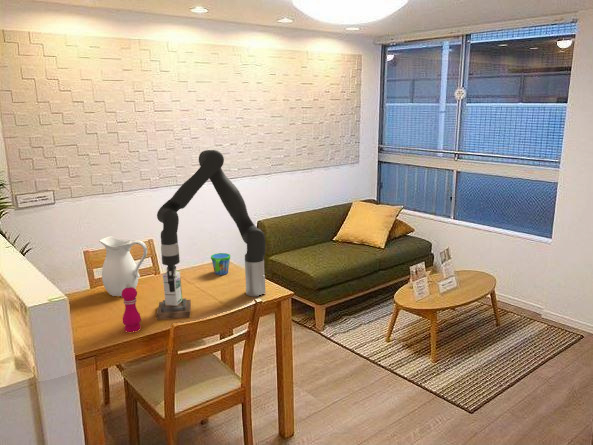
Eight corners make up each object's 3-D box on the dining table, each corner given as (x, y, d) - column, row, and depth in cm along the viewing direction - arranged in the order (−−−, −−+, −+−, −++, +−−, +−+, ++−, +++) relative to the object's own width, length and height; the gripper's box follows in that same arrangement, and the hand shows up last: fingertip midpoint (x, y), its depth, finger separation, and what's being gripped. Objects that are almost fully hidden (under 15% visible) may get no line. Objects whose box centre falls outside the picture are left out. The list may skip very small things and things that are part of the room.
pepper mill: (135, 324, 208) (131, 279, 204) (145, 328, 204) (141, 283, 199) (120, 330, 203) (115, 284, 198) (129, 335, 198) (125, 288, 194)
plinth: (190, 304, 228) (190, 296, 227) (189, 316, 215) (189, 308, 214) (159, 307, 226) (159, 298, 225) (156, 319, 213) (156, 311, 212)
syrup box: (177, 305, 216) (175, 274, 213) (164, 305, 217) (162, 273, 214) (182, 301, 222) (180, 270, 218) (170, 300, 223) (168, 269, 219)
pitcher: (96, 297, 238) (90, 242, 232) (116, 285, 254) (111, 233, 247) (140, 301, 232) (135, 245, 226) (158, 289, 248) (154, 236, 242)
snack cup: (217, 268, 280) (217, 251, 277) (235, 269, 277) (234, 252, 275) (206, 277, 265) (205, 259, 263) (225, 278, 263) (224, 260, 260)
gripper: (178, 257, 208) (180, 293, 212) (179, 247, 222) (182, 282, 225) (159, 258, 207) (162, 295, 210) (162, 248, 220) (165, 283, 224)
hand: (172, 288), depth 218 cm, fingers closed on syrup box, 7 cm apart
